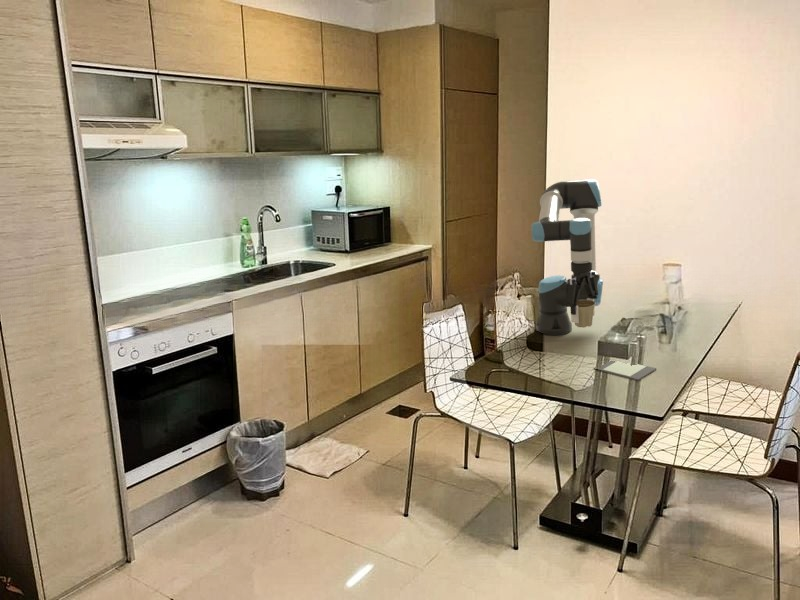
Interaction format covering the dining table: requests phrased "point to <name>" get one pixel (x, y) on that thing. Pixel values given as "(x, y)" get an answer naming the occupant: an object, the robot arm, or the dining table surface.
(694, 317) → the dining table surface
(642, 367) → the flat plate
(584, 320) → the flower pot
